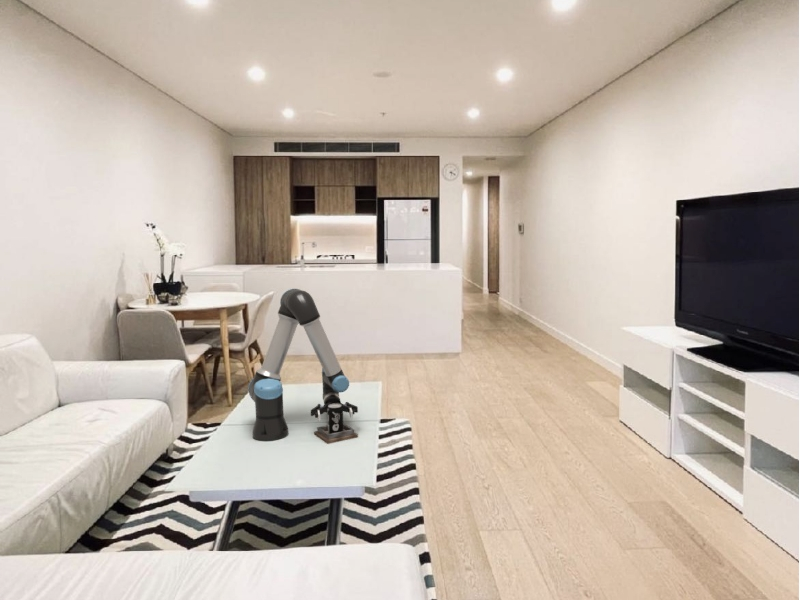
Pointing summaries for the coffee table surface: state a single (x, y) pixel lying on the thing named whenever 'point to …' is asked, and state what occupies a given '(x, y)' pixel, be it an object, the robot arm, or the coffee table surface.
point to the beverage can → (335, 418)
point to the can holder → (335, 434)
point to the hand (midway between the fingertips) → (335, 416)
